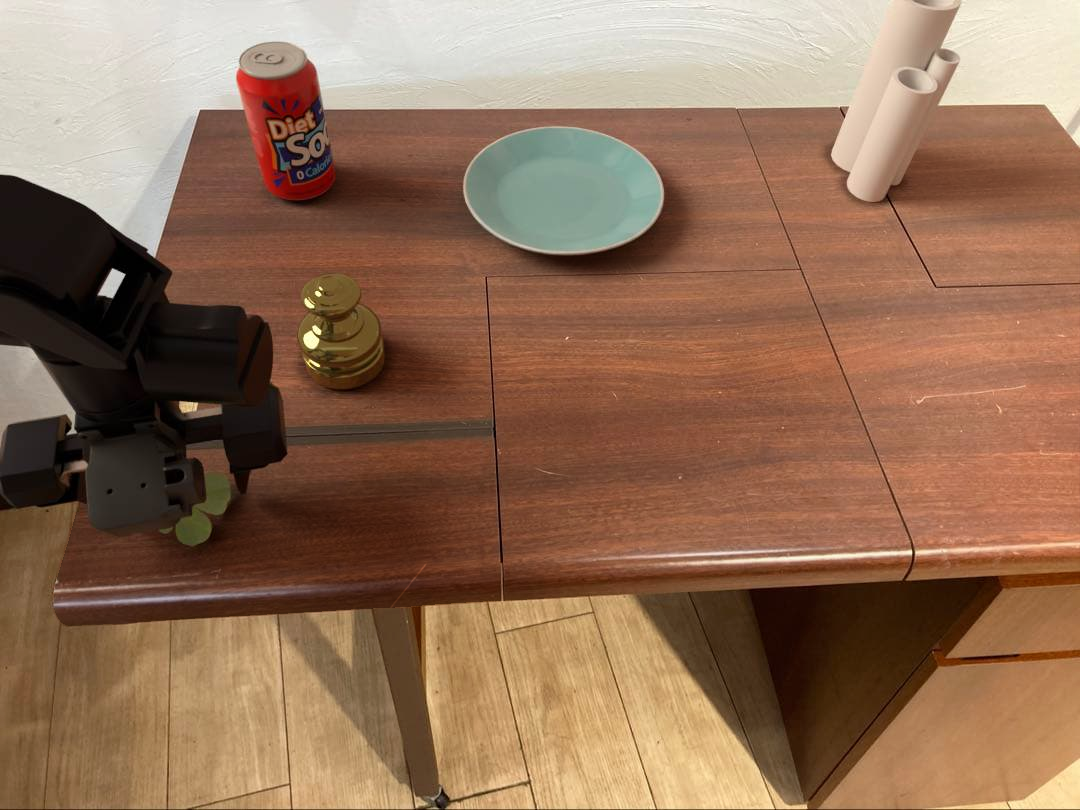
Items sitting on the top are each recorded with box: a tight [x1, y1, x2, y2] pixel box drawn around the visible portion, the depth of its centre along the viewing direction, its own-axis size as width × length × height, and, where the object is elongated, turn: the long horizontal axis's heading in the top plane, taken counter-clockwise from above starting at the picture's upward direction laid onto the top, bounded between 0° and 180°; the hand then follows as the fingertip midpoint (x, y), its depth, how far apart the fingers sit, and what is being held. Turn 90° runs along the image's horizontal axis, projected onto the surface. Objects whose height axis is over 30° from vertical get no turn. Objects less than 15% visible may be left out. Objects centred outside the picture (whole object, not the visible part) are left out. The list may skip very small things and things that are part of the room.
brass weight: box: [296, 272, 386, 390], centre depth 72 cm, size 7×7×10 cm
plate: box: [462, 125, 665, 256], centre depth 90 cm, size 22×22×3 cm
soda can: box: [235, 41, 336, 201], centre depth 85 cm, size 8×8×15 cm
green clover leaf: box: [158, 471, 232, 547], centre depth 64 cm, size 7×8×7 cm
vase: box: [830, 0, 962, 203], centre depth 90 cm, size 11×7×20 cm, turn 8°
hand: (184, 500), depth 65 cm, fingers open, 9 cm apart
